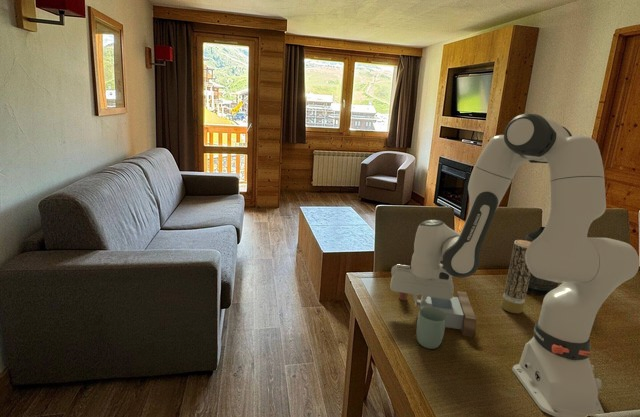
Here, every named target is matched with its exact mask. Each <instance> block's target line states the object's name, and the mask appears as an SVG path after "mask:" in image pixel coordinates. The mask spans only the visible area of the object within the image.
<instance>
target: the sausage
mask: <svg viewBox="0 0 640 417" xmlns="http://www.w3.org/2000/svg"><path fill="white" fill-rule="evenodd" d="M398 293H399V294H398V299H399V300H401V301H407V300H408V295H409V293H403V292H398Z"/></svg>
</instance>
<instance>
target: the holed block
mask: <svg viewBox="0 0 640 417" xmlns="http://www.w3.org/2000/svg"><path fill="white" fill-rule="evenodd" d="M421 298H422V296H421V297H420V299H421ZM424 307H431V308H436V309H438V310H441V311H442V312H444V313H445V314H446V317H447V319H446V326H445V328H449V329H450V328H451V329H456V330H461V328H462V322H463V316H464V315H463V312H462V309H461V305H460V302H459V299H458V297H456V296H453V298H452V299H450V300H446V299H440V298H434V297H427V299H426V300H425V301H424V302H423V303H422V307H420V309H422V308H424Z"/></svg>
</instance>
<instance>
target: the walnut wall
mask: <svg viewBox="0 0 640 417" xmlns="http://www.w3.org/2000/svg"><path fill="white" fill-rule="evenodd" d="M455 297H458V299H459V302H460V305H461V309H462V312H463V315H464V316H463V322H462V328H461V329H460V331H461V334H462V335H463V336H465V337H466V336H467V337H474V334H475V333H474V332H475V327H476V323H477V317H476V314H475V312H474V309H473V306H472V304H471V302H470V299H469V296H468V293H467V292H466V291H459V290H457V291H456V296H455Z"/></svg>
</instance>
